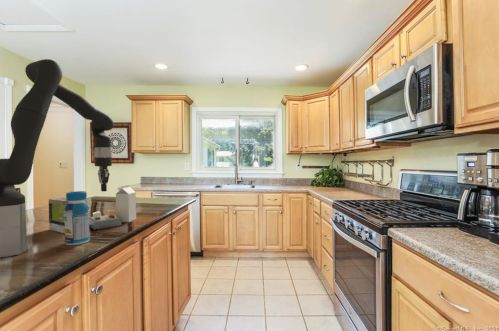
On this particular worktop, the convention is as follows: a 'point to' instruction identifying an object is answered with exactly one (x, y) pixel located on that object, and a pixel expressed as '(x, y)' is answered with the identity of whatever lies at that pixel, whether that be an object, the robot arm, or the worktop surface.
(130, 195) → the milk carton
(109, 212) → the paddle orange
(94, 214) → the paddle white
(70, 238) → the blue plastic bottle
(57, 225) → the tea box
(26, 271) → the worktop surface
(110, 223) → the switch box
